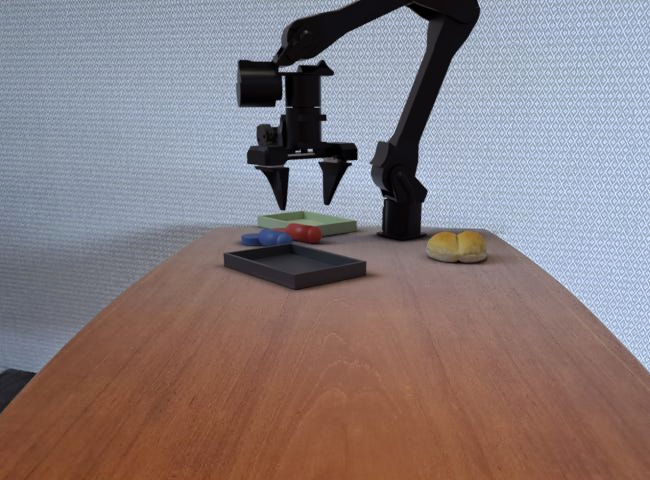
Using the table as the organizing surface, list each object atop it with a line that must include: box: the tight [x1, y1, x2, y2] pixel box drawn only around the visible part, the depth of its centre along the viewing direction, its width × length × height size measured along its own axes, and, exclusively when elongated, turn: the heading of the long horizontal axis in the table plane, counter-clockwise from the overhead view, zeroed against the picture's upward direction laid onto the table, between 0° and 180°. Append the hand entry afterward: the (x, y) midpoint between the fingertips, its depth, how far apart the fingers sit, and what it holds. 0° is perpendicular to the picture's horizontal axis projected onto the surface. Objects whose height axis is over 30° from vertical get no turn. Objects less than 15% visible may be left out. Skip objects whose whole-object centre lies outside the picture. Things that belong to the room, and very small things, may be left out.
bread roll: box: [426, 230, 488, 264], centre depth 101 cm, size 8×9×4 cm
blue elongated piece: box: [240, 228, 294, 247], centre depth 109 cm, size 12×5×3 cm, turn 40°
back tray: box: [256, 210, 358, 237], centre depth 125 cm, size 16×11×2 cm
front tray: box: [222, 242, 367, 290], centre depth 94 cm, size 17×12×2 cm
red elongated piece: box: [271, 223, 323, 244], centre depth 115 cm, size 12×5×3 cm, turn 47°
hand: (305, 207), depth 112 cm, fingers open, 9 cm apart
